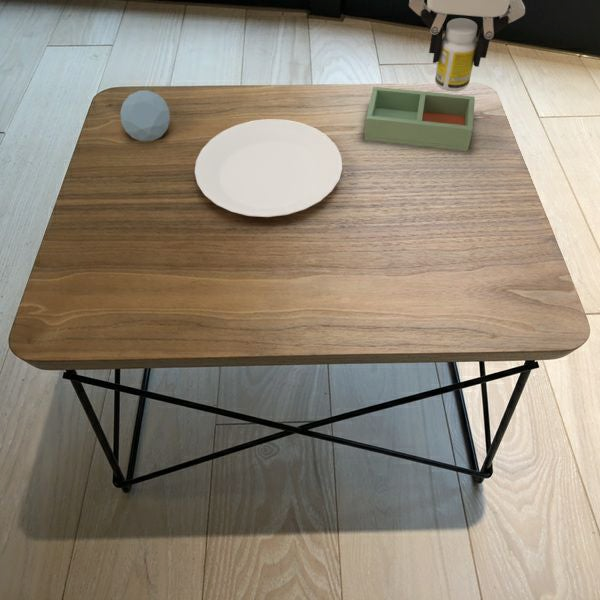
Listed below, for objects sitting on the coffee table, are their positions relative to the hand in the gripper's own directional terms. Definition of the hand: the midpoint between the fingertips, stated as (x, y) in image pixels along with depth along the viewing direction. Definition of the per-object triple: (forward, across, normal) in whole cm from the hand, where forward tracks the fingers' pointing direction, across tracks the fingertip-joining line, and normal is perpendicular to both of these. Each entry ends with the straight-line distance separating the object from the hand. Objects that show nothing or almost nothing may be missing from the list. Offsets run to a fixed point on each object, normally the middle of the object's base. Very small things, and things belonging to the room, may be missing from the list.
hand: (456, 58), depth 84 cm
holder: (+12, +4, 0) cm, 13 cm away
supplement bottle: (+4, 0, 0) cm, 4 cm away
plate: (+12, +24, +14) cm, 30 cm away
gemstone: (+12, +45, +8) cm, 47 cm away
